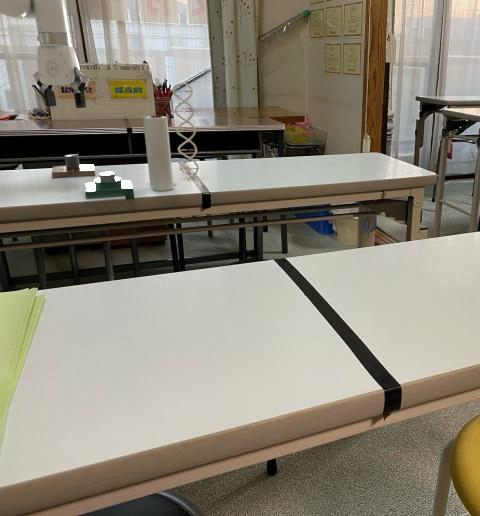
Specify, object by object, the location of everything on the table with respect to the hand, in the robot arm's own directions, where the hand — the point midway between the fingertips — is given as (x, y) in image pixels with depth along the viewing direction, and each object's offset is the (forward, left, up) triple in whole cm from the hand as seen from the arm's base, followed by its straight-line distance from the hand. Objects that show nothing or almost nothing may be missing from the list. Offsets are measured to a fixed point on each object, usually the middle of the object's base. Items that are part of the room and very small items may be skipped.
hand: (66, 107), depth 144 cm
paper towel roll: (+23, -7, -24) cm, 34 cm away
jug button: (+8, -12, -19) cm, 24 cm away
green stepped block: (+8, -12, -24) cm, 27 cm away
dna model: (+33, +4, -24) cm, 41 cm away
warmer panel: (-1, +18, -24) cm, 30 cm away
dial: (-1, +18, -21) cm, 27 cm away
